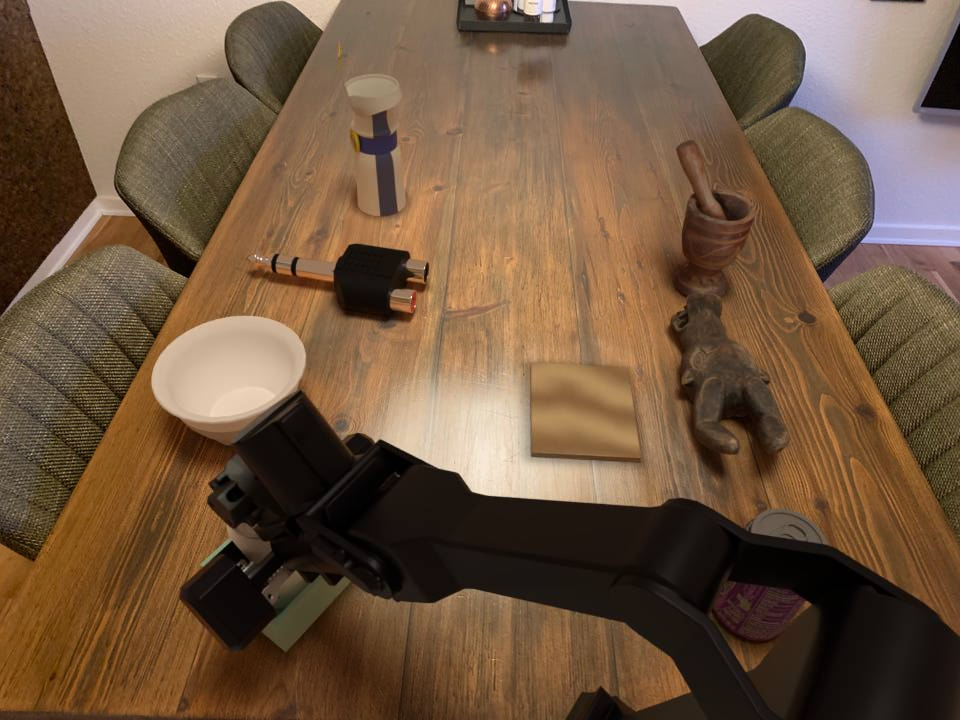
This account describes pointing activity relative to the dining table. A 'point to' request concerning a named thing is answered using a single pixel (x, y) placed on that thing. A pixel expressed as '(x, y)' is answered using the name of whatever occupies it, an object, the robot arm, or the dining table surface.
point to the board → (582, 412)
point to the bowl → (228, 373)
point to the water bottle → (376, 143)
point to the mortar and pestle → (709, 228)
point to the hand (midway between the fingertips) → (263, 533)
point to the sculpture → (723, 380)
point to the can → (257, 552)
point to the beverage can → (760, 606)
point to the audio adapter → (358, 276)
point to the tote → (297, 608)
